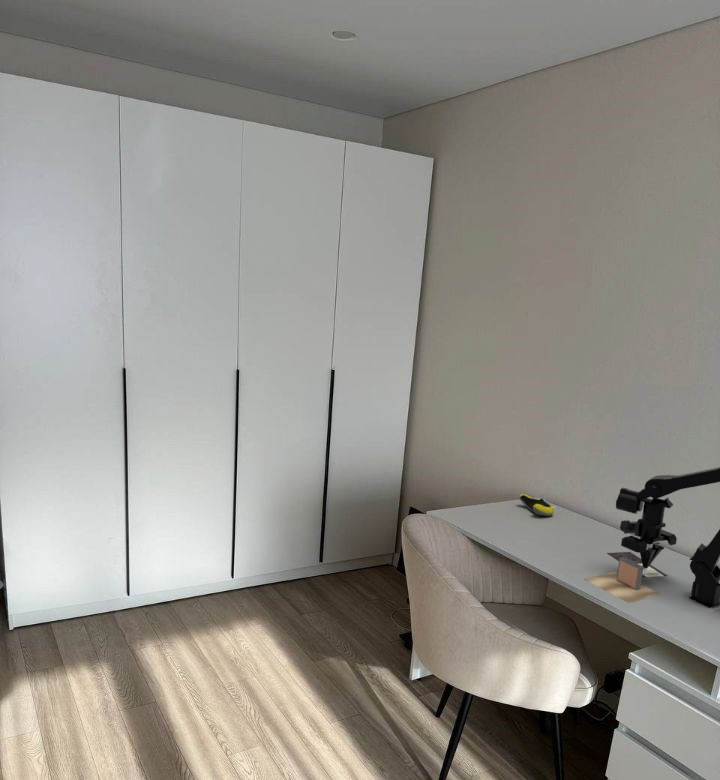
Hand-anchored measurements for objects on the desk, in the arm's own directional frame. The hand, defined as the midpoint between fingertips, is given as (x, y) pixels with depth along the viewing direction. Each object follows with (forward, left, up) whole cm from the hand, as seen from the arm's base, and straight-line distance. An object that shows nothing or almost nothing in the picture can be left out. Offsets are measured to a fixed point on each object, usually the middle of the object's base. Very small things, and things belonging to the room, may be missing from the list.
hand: (645, 567), depth 196 cm
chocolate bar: (+9, -9, -5) cm, 14 cm away
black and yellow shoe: (+59, -16, -5) cm, 61 cm away
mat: (0, +10, -5) cm, 11 cm away
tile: (0, +7, -4) cm, 8 cm away
